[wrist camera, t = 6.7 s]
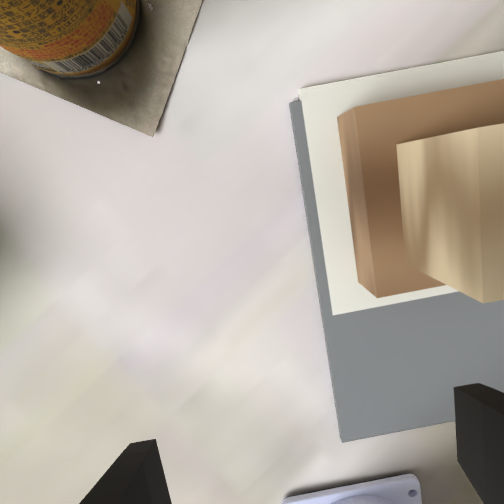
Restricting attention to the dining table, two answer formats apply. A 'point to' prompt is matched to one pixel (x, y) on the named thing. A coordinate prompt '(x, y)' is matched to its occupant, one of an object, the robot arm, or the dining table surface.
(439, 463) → the dining table surface
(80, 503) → the robot arm
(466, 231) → the maple cube
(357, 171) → the walnut base
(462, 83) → the mat
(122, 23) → the condiment
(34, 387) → the dining table surface
